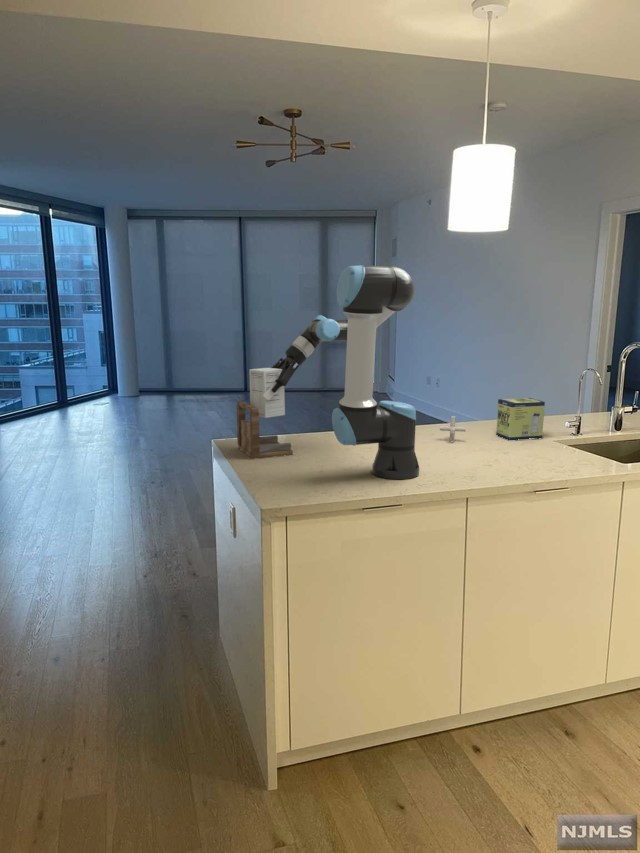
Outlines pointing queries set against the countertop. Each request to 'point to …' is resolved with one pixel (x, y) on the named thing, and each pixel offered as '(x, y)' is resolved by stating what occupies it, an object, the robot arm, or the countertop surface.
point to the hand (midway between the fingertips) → (259, 395)
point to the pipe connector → (452, 428)
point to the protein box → (520, 418)
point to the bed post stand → (257, 435)
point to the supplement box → (260, 385)
